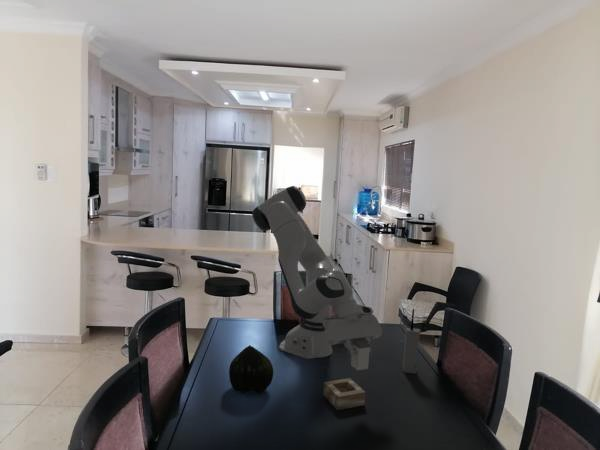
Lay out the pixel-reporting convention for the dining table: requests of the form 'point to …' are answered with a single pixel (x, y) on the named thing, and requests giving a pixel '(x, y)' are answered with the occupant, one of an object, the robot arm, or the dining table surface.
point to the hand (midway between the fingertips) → (361, 353)
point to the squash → (250, 371)
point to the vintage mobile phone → (410, 348)
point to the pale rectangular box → (360, 354)
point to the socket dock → (344, 393)
